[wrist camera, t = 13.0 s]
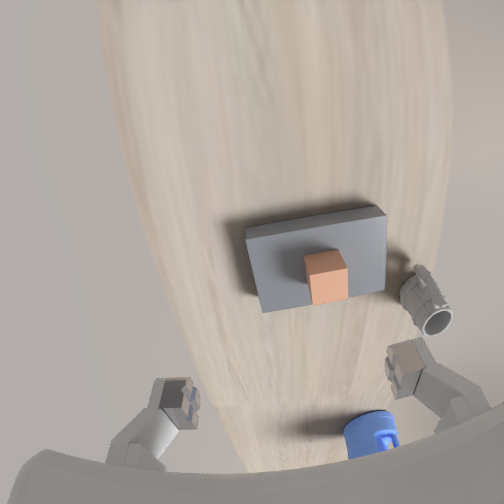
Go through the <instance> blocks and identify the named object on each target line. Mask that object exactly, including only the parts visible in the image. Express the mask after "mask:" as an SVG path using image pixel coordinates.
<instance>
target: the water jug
mask: <svg viewBox="0 0 504 504" xmlns="http://www.w3.org/2000/svg"><path fill="white" fill-rule="evenodd" d="M343 433H344V437H345V440H346V445H347V450H348V458H349V460H350V459H354V458H359V457H363V456H367V455H371V454H375V453H378V452H382V451H385V450H388V444H389V443H390V442H391V441H392V442H393V446H394V448H396V447H399V446H400V444H399V441H398V438H397V435H398V432H397V429H396V426H395V422H394V418H393V415H392V414H391V413H390V412H387V411H375V412H370V413H367V414H364V415H361V416H359V417H357V418H355V419H353V420H352V421H350V422H349V423H348V424H347V425H346V426H345V428H344V431H343Z"/></svg>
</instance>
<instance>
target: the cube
mask: <svg viewBox="0 0 504 504" xmlns="http://www.w3.org/2000/svg"><path fill="white" fill-rule="evenodd" d="M304 261H305V269H306V277H307V285H308V289H309V293H310V296H311V300H312V304H313V305H318V304H324V303H329V302H334V301H339V300H344V299H348V268H347V266H346V264H345V262H344V260H343V258H342V256H341V254H340V252H339V250H333V251H327V252H322V253H316V254H310V255H305V256H304Z"/></svg>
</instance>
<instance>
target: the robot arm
mask: <svg viewBox="0 0 504 504" xmlns="http://www.w3.org/2000/svg"><path fill="white" fill-rule="evenodd" d="M386 352H387V355H388V356H387V357H386V359H385V372H386V376H387V379H388V380H389V381H391V382H392V385H391V390H392V392H393V395H394V398H395V400H397V399H401V398H404V397H408V396H411V395H414V397H416V398H417V399H418V400H419V401H421V402H422V403H423V404H424V405H425V406H427V407H428V408H429V409H430V410H432V411H433V412H434V413H435V414H437V415H438V416H439V417H440V418H441V419H440V421H439V422H438V424H437V426H436V427H435V429H434V432H435V434H434V435H431V436H429V437H426V438H423V439H420V440H417V441H414V442H411V443H408V444H405V445H402V446H399V447H396V448H392V449H389V450H385V451H382V452H378V453H375V454H371V455H367V456H363V457H359V458H354V459H350V460H345V461H340V462H335V463H330V464H324V465H319V466H312V467H306V468H298V469H290V470H281V471H271V472H258V473H238V474H197V473H177V472H166V467H165V465H163V464H162V463H161V462H160V461H159V460H157V459H158V458H159V456H160V455H161V454H162V453H163V451H164V450H165V449H166V447H167V446H168V445H169V443H170V442H171V441H172V439H173V438H174V437H175V435H176V434H177V433H178V431H179V430H186V429H197V425H198V417H199V416H198V415H197V413H196V412H197V411H198V409H199V408H200V395H199V391H198V390H197V388H196V387H194V386H193V381H192V379H191V378H190V377H187V378H156V380H155V381H154V384H153V388H152V392H151V396H150V399H149V403H148V407H147V408H144V409H143V410H142V411H141V412H140V413H139V414H138V415H137V416H136V417H135V418H134V419H133V420H132V421H131V422H130V423H129V424H128V425H127V426H126V427H125V428H124V429H123V430H122V431H121V432H119V433H118V434H117V435H116V437H114V438H113V439H112V440H111V444H110V447H109V451H108V455H107V458H106V462H105V463H101V462H96V461H91V460H87V459H82V458H78V457H74V456H70V455H66V454H63V453H60V452H56V451H53V450H48V449H45V450H42V451H40V452H39V453H37V454H36V455H35V456H33V457H32V458H31V459H30V460H28V461H27V462H26V463H25V464H24V465H23V466H22V468H21V470H20V471H19V473H18V475H17V478H16V480H15V483H14V485H13V488H12V490H11V493H10V497H9V500H8V503H7V504H504V402H503V403H501V404H499V405H497V406H495V407H493V408H491V407H490V405H489V403H488V401H487V400H486V398H485V396H484V394H483V392H482V390H481V388H480V387H479V386H478V385H476V384H474V383H473V382H471V381H469V380H467V379H466V378H464V377H462V376H461V375H459V374H457V373H455V372H453V371H452V370H450V369H448V368H447V367H445V366H443V365H441V364H436V362H435V360H434V358H433V356H432V354H431V352H430V351H429V349H428V347H427V345H426V343H425V341H424V340H423V338H422V337H418V338H415V339H412V340H407V341H404V342H400V343H397V344H393V345H389V346H388V347H387V351H386Z"/></svg>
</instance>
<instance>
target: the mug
mask: <svg viewBox="0 0 504 504" xmlns="http://www.w3.org/2000/svg"><path fill="white" fill-rule="evenodd" d="M414 271H415V274H416V275H414V276H412V277H410V278H409V279H408V280H407V281H406V282H405V284H404V285H402V287H401V290H400V300H401V304H402V306H403V308H404V309H405V310H406V311H408V312H409V314H410V315H411V317H412V320H413V322H414V325H415V326H417V327H419V329H420V331H421V332H422V334H423V335H424V336H426V337H433V336H435V335H438V334H440V333H442V332H443V331H445V330H446V329H447V327H448V326H449V325H450V323H451V321H452V317H453V312H452V311H451V309H450V307H449V306H448V303H447V300H446V298H445V296H443V295H442V294H441V292H440V289H439V288H438V286H437V283H436V282H435V281H434V279H433V278H432V274H431V273H430V272H429V271H428V270H427V269H426V268H425V267H424V266H423V265H418V264H417V265H415V266H414Z"/></svg>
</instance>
